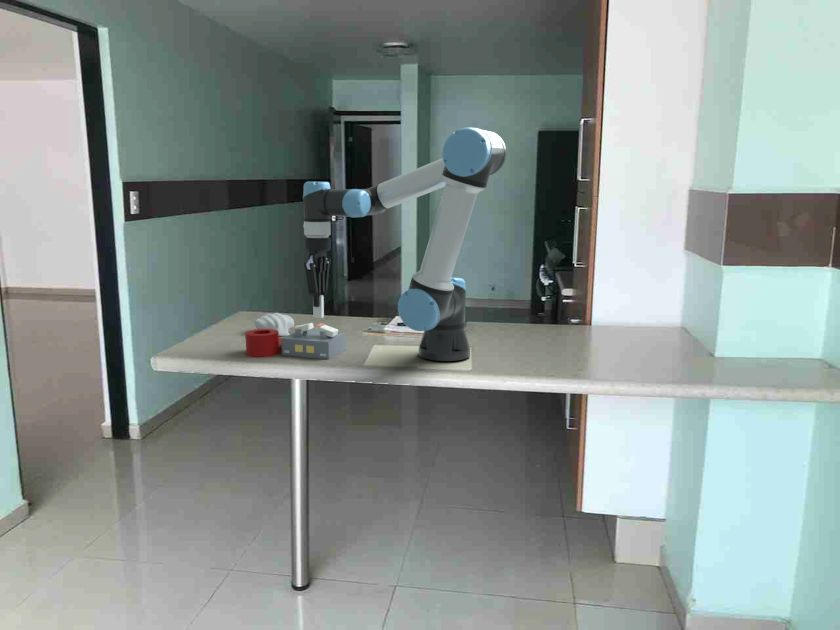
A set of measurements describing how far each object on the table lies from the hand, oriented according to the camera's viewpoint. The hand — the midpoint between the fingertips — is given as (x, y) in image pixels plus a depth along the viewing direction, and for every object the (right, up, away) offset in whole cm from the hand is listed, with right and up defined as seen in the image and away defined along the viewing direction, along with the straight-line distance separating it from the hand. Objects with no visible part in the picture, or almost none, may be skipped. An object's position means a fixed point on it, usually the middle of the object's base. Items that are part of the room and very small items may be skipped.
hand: (318, 317), depth 198 cm
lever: (-15, -10, +4) cm, 19 cm away
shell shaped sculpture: (-19, -6, +26) cm, 33 cm away
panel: (-2, -10, +3) cm, 11 cm away
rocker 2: (+2, -4, 0) cm, 4 cm away
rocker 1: (-5, -3, +2) cm, 7 cm away
